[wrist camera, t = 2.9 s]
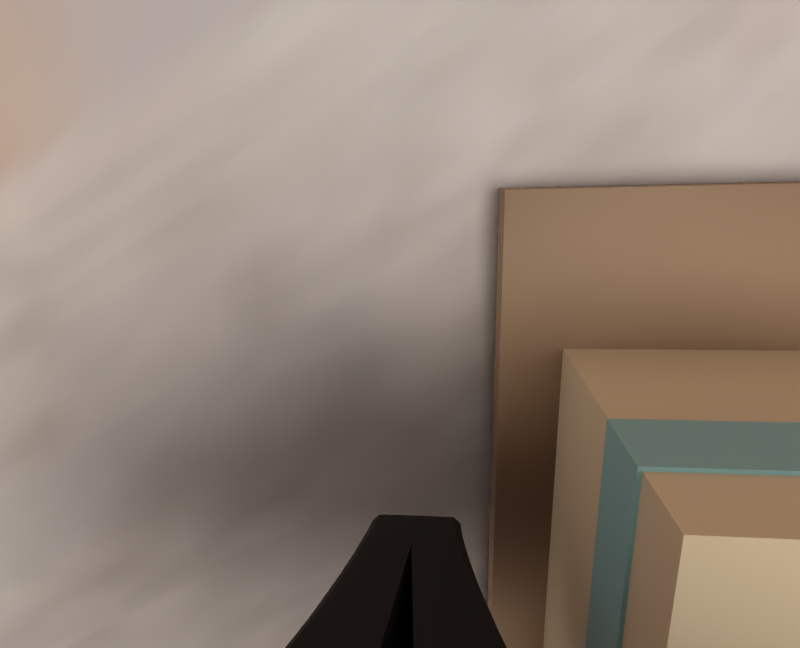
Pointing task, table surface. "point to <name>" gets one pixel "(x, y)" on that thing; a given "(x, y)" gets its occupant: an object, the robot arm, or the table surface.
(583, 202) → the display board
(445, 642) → the robot arm
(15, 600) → the table surface
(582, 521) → the carton
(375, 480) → the table surface
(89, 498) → the table surface
